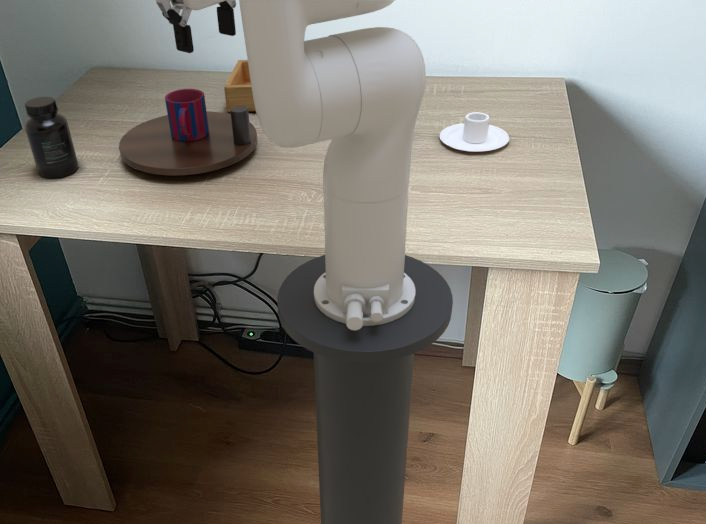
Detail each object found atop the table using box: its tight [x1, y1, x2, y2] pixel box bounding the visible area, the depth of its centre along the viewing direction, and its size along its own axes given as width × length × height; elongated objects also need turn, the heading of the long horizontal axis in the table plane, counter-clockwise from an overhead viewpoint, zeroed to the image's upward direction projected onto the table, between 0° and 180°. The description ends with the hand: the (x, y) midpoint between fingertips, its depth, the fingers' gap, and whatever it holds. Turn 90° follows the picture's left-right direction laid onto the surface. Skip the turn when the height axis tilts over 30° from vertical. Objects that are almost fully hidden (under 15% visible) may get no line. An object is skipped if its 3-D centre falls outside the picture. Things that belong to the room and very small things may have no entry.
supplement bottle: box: [24, 95, 79, 179], centre depth 122 cm, size 7×7×12 cm
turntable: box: [118, 105, 258, 176], centre depth 125 cm, size 24×24×7 cm
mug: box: [164, 88, 209, 142], centre depth 125 cm, size 7×10×7 cm
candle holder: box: [439, 111, 510, 153], centre depth 127 cm, size 12×12×4 cm
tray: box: [223, 59, 256, 113], centre depth 144 cm, size 31×15×6 cm, turn 84°
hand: (207, 42), depth 115 cm, fingers open, 9 cm apart
